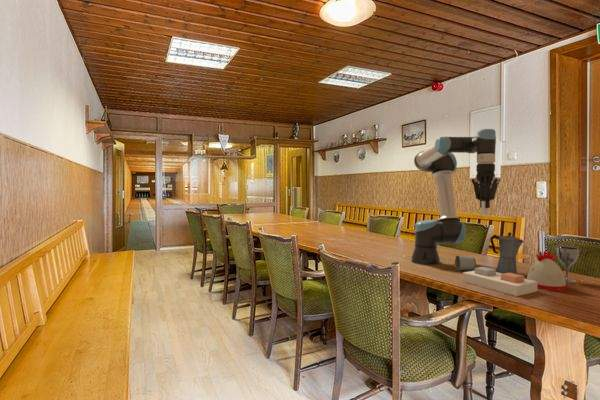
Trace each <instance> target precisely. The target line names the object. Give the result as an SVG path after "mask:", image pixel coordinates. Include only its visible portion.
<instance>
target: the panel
mask: <svg viewBox="0 0 600 400" xmlns="http://www.w3.org/2000/svg"><path fill="white" fill-rule="evenodd" d="M501 274H503V273H499V272H497V271H496V275H492V276H484V275H479V274H475V270H472V271H464V272H462V282H463V283H467V284H470V285H474V286H477V287H481V288H485V289H488V290H492V291H496V292H499V293H504V294H507V295H510V296H515V297H519V296H522V295H523V296H524V295H528V294H532V293H535V292H538V288H537V281H533V280H528V279H527V278H524V282H519V283H512V282H508V281H504V280H501Z"/></svg>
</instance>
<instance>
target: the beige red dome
mask: <svg viewBox="0 0 600 400" xmlns="http://www.w3.org/2000/svg"><path fill="white" fill-rule="evenodd" d="M538 253H539V254H535V256H536V258H537V261H535V262H534V263H533V264H532V265H531V267H530V269H529V271H528V274H527V276H526V279H528V280H533V281H537V289H540V290H546V291H564V290H566V288H567V282H565V278H566V277H565V276H564V272H563V271H562V269H561V267H560V266H559V264H558V263H557V262H556V259H557V256H556V255H555V256H554V254H553V253H550V250H547V251H545V250H543V253H542V251H539V252H538Z"/></svg>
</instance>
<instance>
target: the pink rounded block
mask: <svg viewBox="0 0 600 400" xmlns="http://www.w3.org/2000/svg"><path fill="white" fill-rule="evenodd" d="M524 279H525V275H523V274H519V273H517V274H514V273H510V272H509V273H504V274H503V273H502V274H501V280H504V281H508V282H512V283H519V282H524Z"/></svg>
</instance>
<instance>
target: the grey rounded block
mask: <svg viewBox="0 0 600 400" xmlns="http://www.w3.org/2000/svg"><path fill="white" fill-rule="evenodd" d="M496 270H497V268H496V269H495V268H491V267H485V266H480V267H475V269H474V271H475V274H479V275H484V276H492V275H496V272H497V271H496Z"/></svg>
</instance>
